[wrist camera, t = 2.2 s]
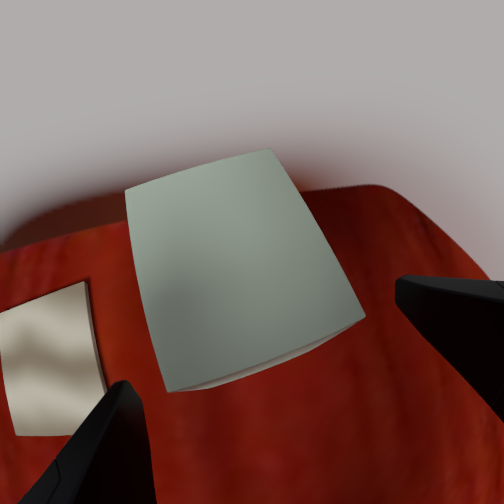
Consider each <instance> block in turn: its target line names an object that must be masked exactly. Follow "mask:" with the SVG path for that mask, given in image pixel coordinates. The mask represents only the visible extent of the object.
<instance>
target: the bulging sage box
mask: <svg viewBox="0 0 504 504" xmlns="http://www.w3.org/2000/svg"><path fill="white" fill-rule="evenodd" d="M125 197H126V206H127V215H128V223H129V231H130V238H131V245H132V251H133V257H134V263H135V268H136V274H137V279H138V284H139V289H140V294H141V298H142V303H143V307H144V311H145V316H146V320H147V324H148V328H149V332H150V336H151V339H152V343H153V347H154V350H155V354H156V357H157V360H158V364H159V367H160V370H161V374H162V377H163V380H164V383H165V386H166V389H167V392H180V391H190V390H199V389H207V388H212V387H215V386H218V385H221V384H224V383H227V382H231V381H234V380H236V379H239V378H242V377H245V376H248V375H251V374H254V373H256V372H259V371H262V370H264V369H267V368H270V367H272V366H275V365H277V364H280V363H282V362H285V361H287V360H290V359H292V358H294V357H297V356H299V355H302V354H304V353H306V352H308V351H310V350H312V349H314V348H316V347H317V346H319V345H321V344H323V343H324V342H326V341H328V340H329V339H331V338H333V337H334V336H336V335H338V334H339V333H341V332H343V331H344V330H346V329H347V328H349V327H351V326H352V325H354V324H355V323H357V322H358V321H360V320H362V319H363V318H365V317H366V315H365V313H364V311H363V309H362V307H361V305H360V303H359V301H358V299H357V297H356V295H355V293H354V291H353V289H352V287H351V285H350V283H349V281H348V279H347V277H346V275H345V273H344V271H343V270H342V268H341V266H340V264H339V262H338V260H337V258H336V256H335V255H334V253H333V251H332V249H331V247H330V245H329V244H328V242H327V240H326V238H325V236H324V235H323V233H322V231H321V229H320V228H319V226H318V224H317V222H316V221H315V219H314V217H313V215H312V214H311V212H310V210H309V209H308V207H307V205H306V204H305V202H304V200H303V199H302V197H301V195H300V194H299V192H298V190H297V189H296V187H295V185H294V184H293V182H292V181H291V179H290V177H289V176H288V174H287V173H286V171H285V169H284V168H283V166H282V165H281V163H280V162H279V160H278V158H277V157H276V155H275V154H274V152H273V151H272V149H271V148H268V149H263V150H259V151H254V152H250V153H246V154H242V155H238V156H234V157H230V158H226V159H222V160H218V161H215V162H211V163H207V164H204V165H200V166H197V167H194V168H190V169H187V170H184V171H180V172H177V173H174V174H171V175H168V176H165V177H162V178H159V179H156V180H153V181H150V182H147V183H144V184H141V185H138V186H135V187H133V188H130V189H127V190H125Z"/></svg>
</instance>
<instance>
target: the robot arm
mask: <svg viewBox="0 0 504 504" xmlns="http://www.w3.org/2000/svg"><path fill="white" fill-rule="evenodd" d="M395 302H396V305H397V307H398V308H399V309H400V310H401V311H402V312H403V314H404V315H405V316H406V317H407V318H408V319H409V321H410V322H411V323H412V324H413V325H414V327H415V328H416V329H417V330H418V331H419V332H420V334H421V335H422V336H423V337H424V338H425V339H426V340H427V341H428V342H429V343H430V344H431V345H432V346H433V347H434V348H435V349H436V350H437V351H438V352H439V353H440V354H441V355H442V356H443V357H444V358H445V359H446V360H447V361H448V362H449V363H450V364H451V365H452V366H453V367H454V368H455V369H456V370H457V371H458V372H459V373H460V374H461V375H462V377H463V378H464V379H465V380H466V381H467V382H468V383H469V384H470V385H471V386H472V387H473V388H474V389H475V391H476V392H477V393H478V394H479V395H480V396H481V397H482V398H483V399H484V400H485V402H486V403H487V404H488V405H489V406H490V407H491V409H492V410H493V411H494V412H495V413H496V414H497V416H498V417H499V418H500V419H501V420H502V422H503V423H504V281H492V280H476V279H461V278H446V277H432V276H418V275H403V276H402V277H400V278H398V279H397V280H396V282H395ZM17 504H157V501H156V495H155V488H154V480H153V471H152V462H151V451H150V443H149V438H148V432H147V427H146V421H145V415H144V409H143V403H142V400H141V398H140V396H139V395H138V394H137V392H136V391H135V390H134V388H133V387H132V385H131V384H130V383H129V381H127V380H121V381H117V382H114V383H113V385H112V386H111V387H110V388H109V390H108V391H107V392H106V393H105V395H104V396H103V397H102V398H101V400H100V401H99V402H98V403H97V405H96V406H95V407H94V408H93V410H92V411H91V412H90V413H89V415H88V416H87V417H86V419H85V420H84V421H83V422H82V424H81V425H80V426H79V428H78V429H77V430H76V431H75V433H74V434H73V435H72V437H71V438H70V439H69V440H68V442H67V443H66V444H65V446H64V447H63V448H62V450H61V451H60V452H59V454H58V455H57V456H56V459H54V460H53V461H52V463H51V464H50V466H49V467H48V468H47V469H46V471H45V472H44V473H43V475H42V476H41V477H40V478H39V479H38V481H37V482H36V483H35V484H34V485H33V486H32V488H31V489H30V490H29V491H28V492H27V493H26V494H25V495H24V496H23V498H22V499H21V500H20V501H19V502H18V503H17Z"/></svg>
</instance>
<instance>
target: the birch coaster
mask: <svg viewBox="0 0 504 504" xmlns="http://www.w3.org/2000/svg"><path fill="white" fill-rule="evenodd" d="M0 352H1V362H2V370H3V377H4V383H5V389H6V394H7V399H8V404H9V409H10V413H11V417H12V421H13V425H14V428H15V432H16V435H19V436H59V435H73V434H74V433H75V431H76V430H77V429H78V428H79V426H80V425H81V424H82V422H83V421H84V420H85V419H86V417H87V416H88V415H89V413H90V412H91V411H92V410H93V408H94V407H95V406H96V405H97V403H98V402H99V401H100V400H101V398H102V397H103V396H104V395H105V393H106V392H107V388H106V384H105V380H104V376H103V372H102V368H101V364H100V360H99V355H98V350H97V345H96V340H95V335H94V329H93V323H92V317H91V310H90V302H89V294H88V285H87V283H86V282H84V281H83V282H80V283H78V284H75V285H72V286H69V287H67V288H64V289H61V290H59V291H56V292H53V293H51V294H48V295H45V296H43V297H40V298H38V299H35V300H32V301H30V302H27V303H25V304H22V305H20V306H17V307H15V308H12V309H10V310H7V311H5V312H2V313H0Z"/></svg>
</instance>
